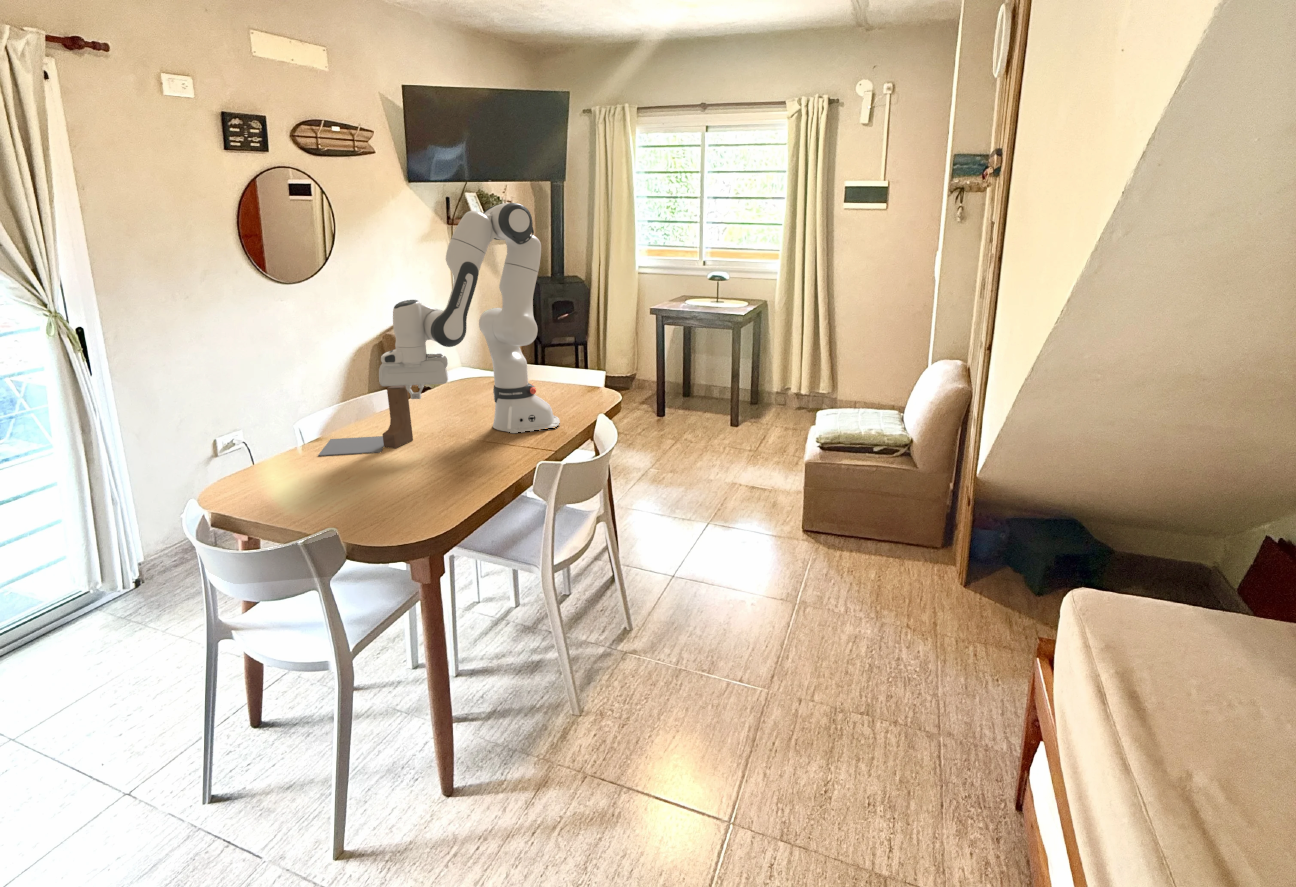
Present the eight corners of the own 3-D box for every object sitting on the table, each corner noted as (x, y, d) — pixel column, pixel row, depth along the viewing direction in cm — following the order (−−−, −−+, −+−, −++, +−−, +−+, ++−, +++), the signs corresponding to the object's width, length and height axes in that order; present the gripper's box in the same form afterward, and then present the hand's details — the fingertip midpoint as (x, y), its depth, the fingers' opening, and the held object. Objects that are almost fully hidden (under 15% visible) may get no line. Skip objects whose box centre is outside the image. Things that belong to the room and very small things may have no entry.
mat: (389, 436, 240) (389, 435, 240) (380, 452, 225) (380, 451, 225) (330, 440, 237) (330, 439, 237) (318, 456, 222) (318, 455, 222)
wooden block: (395, 448, 229) (388, 392, 223) (383, 447, 230) (376, 391, 224) (413, 440, 237) (407, 385, 231) (401, 438, 238) (395, 384, 232)
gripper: (447, 351, 230) (451, 394, 234) (378, 353, 227) (384, 397, 231) (445, 355, 224) (449, 399, 229) (375, 357, 221) (380, 402, 225)
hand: (416, 398), depth 230 cm, fingers closed
